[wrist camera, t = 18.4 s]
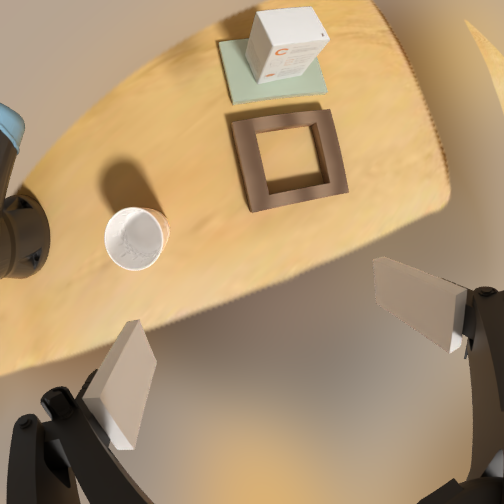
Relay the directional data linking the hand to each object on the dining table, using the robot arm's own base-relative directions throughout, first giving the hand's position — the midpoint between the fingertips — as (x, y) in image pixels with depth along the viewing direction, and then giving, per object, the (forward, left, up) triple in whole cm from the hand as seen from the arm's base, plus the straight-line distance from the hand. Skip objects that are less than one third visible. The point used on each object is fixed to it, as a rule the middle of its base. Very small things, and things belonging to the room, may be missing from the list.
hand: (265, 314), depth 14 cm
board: (+13, +26, -31) cm, 43 cm away
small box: (+13, +26, -29) cm, 42 cm away
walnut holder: (+12, +10, -31) cm, 34 cm away
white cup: (-12, +4, -31) cm, 33 cm away
